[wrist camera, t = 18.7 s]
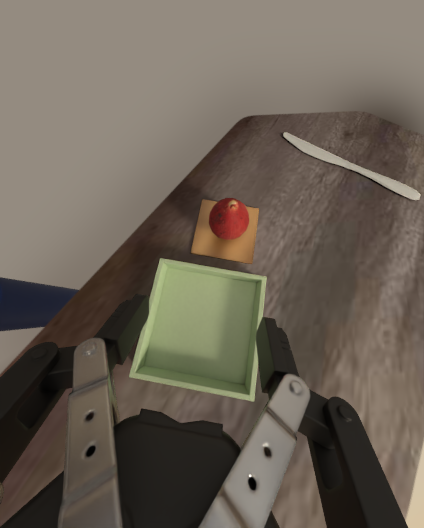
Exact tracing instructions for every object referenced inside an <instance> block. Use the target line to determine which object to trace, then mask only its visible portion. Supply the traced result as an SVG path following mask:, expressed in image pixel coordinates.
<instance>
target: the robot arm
mask: <svg viewBox="0 0 424 528" xmlns="http://www.w3.org/2000/svg"><path fill="white" fill-rule="evenodd" d="M148 316H149V298H148V296H147V295H141V294H136V295H135V296H134V297H133V299H132V300H126V301H125V302H123V303H122V304H120V305H119V306H118V308H117V309H116V310H115V312H114V313H113V314H112V315H111V317H110V318H109V319H108V320H107V322H106V323H105V324H104V325H103V327H102V328H101V329H100V330H99V332H98V333H97V334H96V335H95V336H94V337H93V338H91V339H88V340H85V341H84V342H82V343H81V344H80V345H79V346H73V347H65V348H58V346H57V345H56V344H55V343H53V342H45V343H41V344H38V345H36V346H34V347H32V348H31V349H29V350H28V351H27V352H26V353H25V354H24V355H23V356H22V357H21V358H20V359H19V360H18V361H17V362H16V363H15V364H14V365H13V366H12V367H11V368H10V369H8V370H7V371H6V372H5V373H4V374H3V375H2V376H1V377H0V504H1V502H2V498H3V494H4V487H3V484H2V483H3V481H4V480H5V478H6V477H7V475H8V474H9V472H10V471H11V469H12V468H13V466H14V465H15V463H16V462H17V460H18V459H19V457H20V456H21V455H22V453H23V452H24V450H25V449H26V447H27V446H28V444H29V443H30V441H31V440H32V438H33V437H34V435H35V434H36V432H37V431H38V429H39V428H40V427H41V425H42V424H43V422H44V421H45V419H46V418H47V416H48V415H49V413H50V412H51V410H52V409H53V407H54V406H55V404H56V403H57V402H58V400H59V399H60V397H61V396H62V394H63V393H64V391H65V390H66V389H67V388H73V389H72V393H70V394H69V397H68V410H67V428H66V447H65V465H64V471H63V472H62V473H61V474H59V475H58V476H57V477H56V478H55V479H54V480H53V481H51V482H50V483H49V484H48V485H47V486H46V487H45V488H44V489H42V490H41V491H40V492H39V493H38V494H37V495H36V496H35V497H33V498H32V499H31V500H30V501H29V502H28V503H27V504H26V505H24V506H23V507H22V508H21V509H20V510H19V511H18V512H17V513H15V514H14V515H13V516H12V517H11V518H10V519H9V520H8V521H6V522H5V523H4V524H3V525H2V526H1V527H0V528H280V527H279V525H278V523H277V521H276V519H275V517H274V515H273V513H272V511H271V509H272V506H273V503H274V501H275V498H276V495H277V493H278V490H279V487H280V485H281V482H282V479H283V477H284V474H285V471H286V469H287V466H288V463H289V461H290V458H291V455H292V453H293V450H294V447H295V445H296V441H297V437H296V433H297V431H299V432H300V433H302V434H304V435H305V436H307V439H308V444H309V448H310V453H311V458H312V462H313V467H314V471H315V476H316V480H317V485H318V489H319V494H320V498H321V503H322V507H323V512H324V516H325V521H326V525H327V528H408V526H407V524H406V522H405V519H404V517H403V515H402V513H401V510H400V508H399V506H398V504H397V501H396V499H395V497H394V495H393V492H392V490H391V488H390V486H389V483H388V481H387V479H386V477H385V474H384V472H383V470H382V467H381V465H380V463H379V461H378V458H377V456H376V454H375V452H374V449H373V447H372V445H371V443H370V440H369V438H368V436H367V434H366V431H365V429H364V427H363V425H362V422H361V420H360V418H359V416H358V414H357V412H356V411H355V410H354V408H353V407H352V406H351V405H350V404H349V403H348V402H346V401H345V400H343V399H341V398H339V397H331V398H330V399H329V400H328V399H326V398H324V397H322V396H320V395H318V394H316V393H315V392H313V391H311V390H310V389H309V388H308V386H307V385H306V383H305V382H304V381H303V380H302V379H301V378H300V377H299V375H298V371H297V368H296V365H295V361H294V358H293V355H292V351H291V348H290V345H289V342H288V338H287V335H286V334H285V332H284V331H283V330H282V328H278V327H277V325H276V321H275V319H272V318H267V317H262V319H261V322H260V324H259V327H258V329H257V332H256V346H257V355H258V363H259V371H260V379H261V388H262V392H264V393H268V396H269V401H268V402H267V404H266V406H265V407H264V409H263V411H262V413H261V414H260V416H259V418H258V419H257V421H256V423H255V425H254V426H253V428H252V430H251V431H250V433H249V435H248V436H247V438H246V440H245V441H244V443H243V445H242V446H241V448H240V447H239V446H238V445H237V443H236V442H235V441H234V440H233V439H232V438H231V437H230V436H229V435H228V434H227V433H225V432H224V431H222V428H223V424H219V423H213V422H208V421H203V420H202V421H195V422H187V423H179V422H177V421H175V420H174V419H172V418H170V417H168V416H167V415H165V414H163V413H162V412H157V411H152V410H147V409H141V411H140V414H139V415H135V416H132V417H129V418H127V419H124V420H123V421H121V422H120V418H119V412H118V407H117V401H116V394H115V386H114V378H113V371H112V370H113V368H114V367H115V365H116V364H120V365H123V363H124V361H125V359H126V357H127V356H128V354H129V352H130V350H131V348H132V347H133V345H134V343H135V341H136V339H137V337H138V336H139V334H140V332H141V330H142V328H143V327H144V325H145V323H146V321H147V319H148Z"/></svg>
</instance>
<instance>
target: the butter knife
mask: <svg viewBox="0 0 424 528" xmlns="http://www.w3.org/2000/svg"><path fill="white" fill-rule="evenodd" d="M283 136H284V137H285V138H286V139H287V140H288V141H289V142H291V143H292V144H293V145H295V146H296V147H297V148H299V149H300V150H301V151H303V152H304V153H306V154H309V155H311V156H313V157H316V158H318V159H321V160H323V161H326V162H329V163H333V164H336V165H340V166H343V167H345V168H348V169H351V170H353V171H356V172H359V173H361V174H363V175H365V176H367V177H369V178H371V179H373V180H374V181H376V182H378V183H380V184H381V185H383V186H385V187H387V188H389V189H390V190H392V191H394V192H396V193H398V194H400V195H402V196H405V197H407V198H409V199H412V200H418V199H419V198H420V194H419V193H418V192H417V191H416V190H415V189H413V188H411V187H409V186H407V185H404V184H402V183H400V182H397V181H395V180H393V179H390V178H388V177H385V176H382V175H380V174H377V173H374V172H372V171H369V170H367V169H364V168H362V167H360V166H357V165H355V164H353V163H350V162H348V161H346V160H344V159H342V158H340V157H338V156H336V155H334V154H331V153H329V152H327V151H325V150H323V149H321V148H319V147H317V146H314V145H312V144H310V143H308V142H306V141H303V140H301V139H299V138H297V137H295V136H293V135H291V134H289V133H287V132H286V133H284V134H283Z"/></svg>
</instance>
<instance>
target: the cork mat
mask: <svg viewBox="0 0 424 528" xmlns="http://www.w3.org/2000/svg"><path fill="white" fill-rule="evenodd" d="M216 203H217V202H216V201H210V200H203V199H202V203H201V208H200V212H199V217H198V221H197V226H196V230H195V235H194V240H193V244H192V249H191V254H197V255H202V256H208V257H214V258H219V259H225V260H231V261H237V262H242V263H248V264H252V262H253V254H254V246H255V238H256V230H257V221H258V213H259V209H258V208H252V207H246V208H247V210H248V213H249V225H248V227H247V230H246V231H245V232H244V233H243V234H242V235H241V236H240V237H238V238H235V239H233V240H225V239H222V238H218V237H217V236H216V235H215V234H214V233H213V232H212V230H211V228H210V225H209V214H210V211H211V210H212V208H213V206H214V205H215V204H216Z"/></svg>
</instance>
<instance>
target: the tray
mask: <svg viewBox="0 0 424 528" xmlns="http://www.w3.org/2000/svg"><path fill="white" fill-rule="evenodd" d="M265 287H266V277H265V276H259V275H254V274H248V273H242V272H237V271H231V270H225V269H220V268H214V267H208V266H203V265H197V264H191V263H186V262H180V261H174V260H169V259H163V258H160V261H159V265H158V268H157V272H156V276H155V280H154V284H153V287H152V291H151V295H150V299H149V316H148V319H147V321H146V323H145V325H144V327H143V328H142V330H141V333H140V337H139V341H138V344H137V348H136V352H135V356H134V360H133V363H132V367H131V371H130V375H129V377H132V378H137V379H142V380H147V381H152V382H157V383H162V384H168V385H173V386H178V387H183V388H188V389H193V390H198V391H203V392H208V393H213V394H218V395H224V396H229V397H234V398H239V399H244V400H249V401H254V397H255V387H256V377H257V367H258V355H257V346H256V332H257V329H258V327H259V324H260V322H261V319H262V317H263V307H264V297H265Z"/></svg>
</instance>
